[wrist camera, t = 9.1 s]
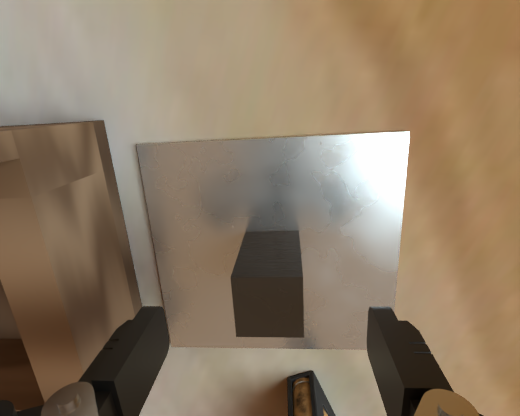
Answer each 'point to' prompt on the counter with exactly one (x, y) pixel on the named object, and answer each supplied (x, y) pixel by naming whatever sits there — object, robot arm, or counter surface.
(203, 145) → the cover plate
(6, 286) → the walnut box
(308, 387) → the ammunition clip
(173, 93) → the counter surface
